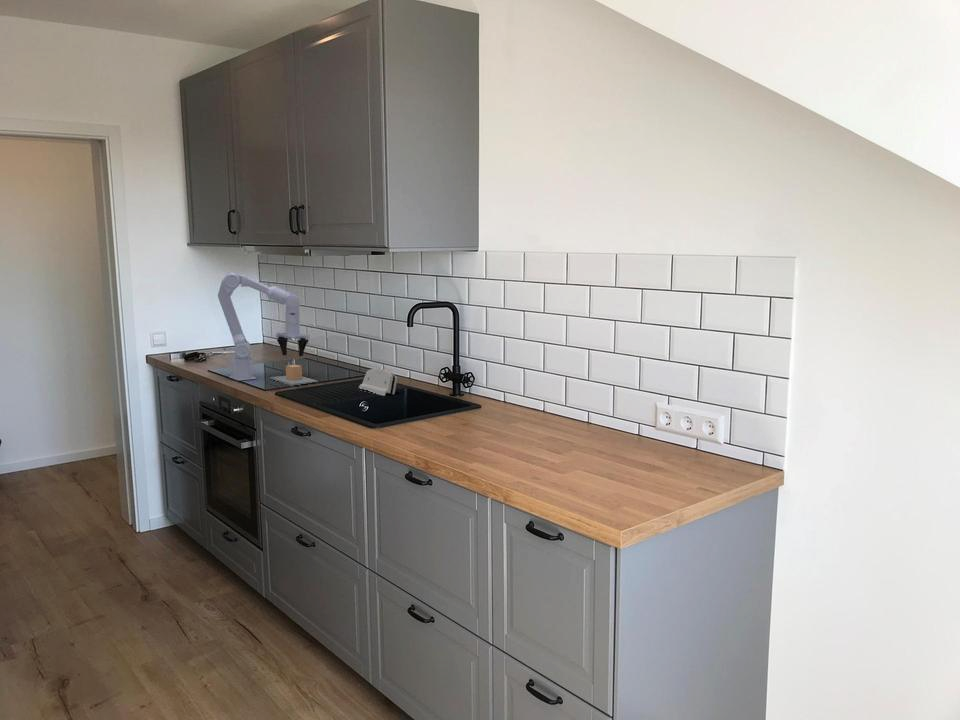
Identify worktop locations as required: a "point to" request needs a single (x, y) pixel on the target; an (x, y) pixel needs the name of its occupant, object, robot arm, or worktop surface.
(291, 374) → the tan wooden cube
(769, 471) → the worktop surface
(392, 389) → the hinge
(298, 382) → the board
